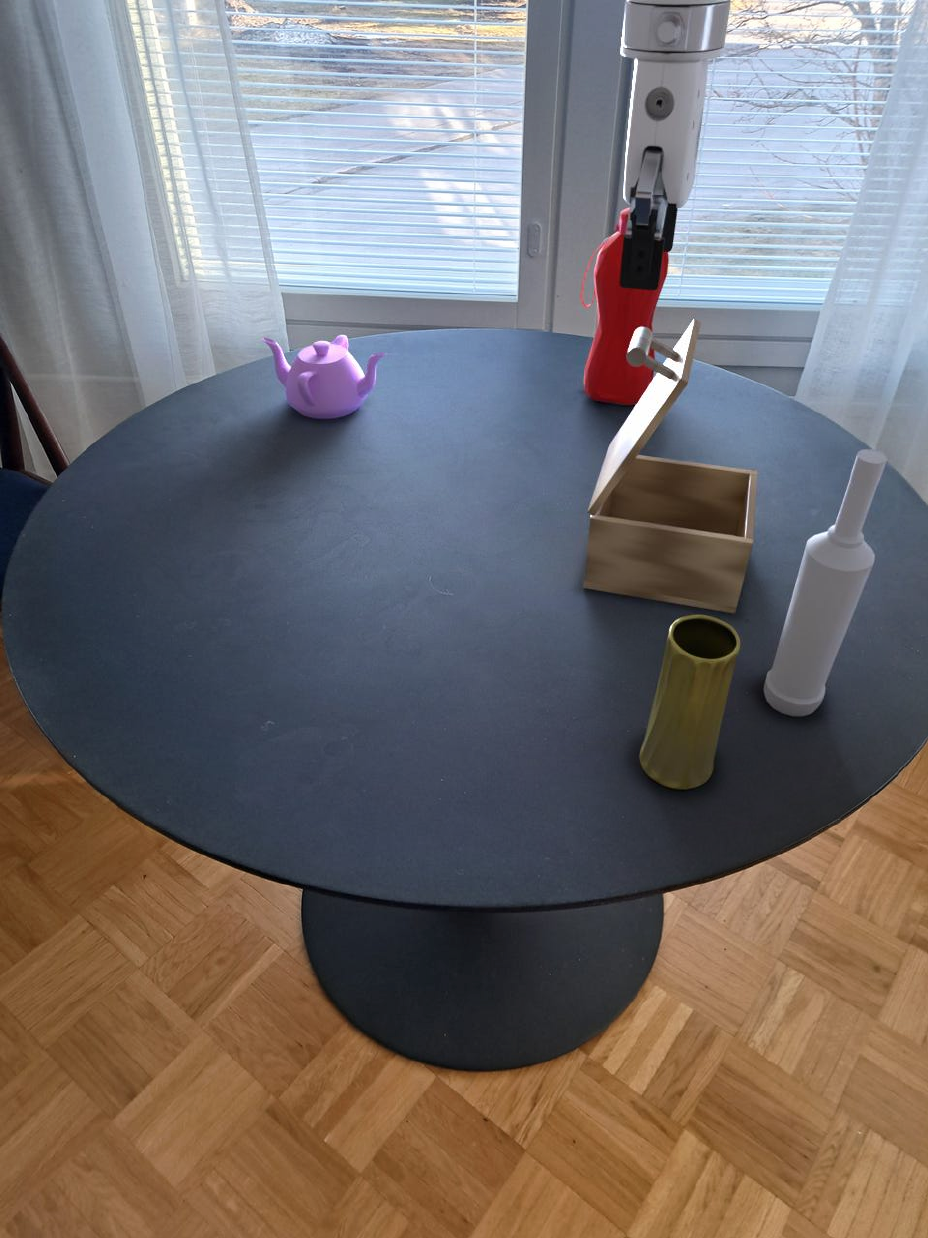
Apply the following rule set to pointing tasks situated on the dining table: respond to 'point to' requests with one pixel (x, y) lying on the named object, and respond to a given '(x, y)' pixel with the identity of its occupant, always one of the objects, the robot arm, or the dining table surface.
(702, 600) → the box
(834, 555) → the bottle
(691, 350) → the lid
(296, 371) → the teapot
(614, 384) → the water bottle
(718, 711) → the vase
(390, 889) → the dining table surface
